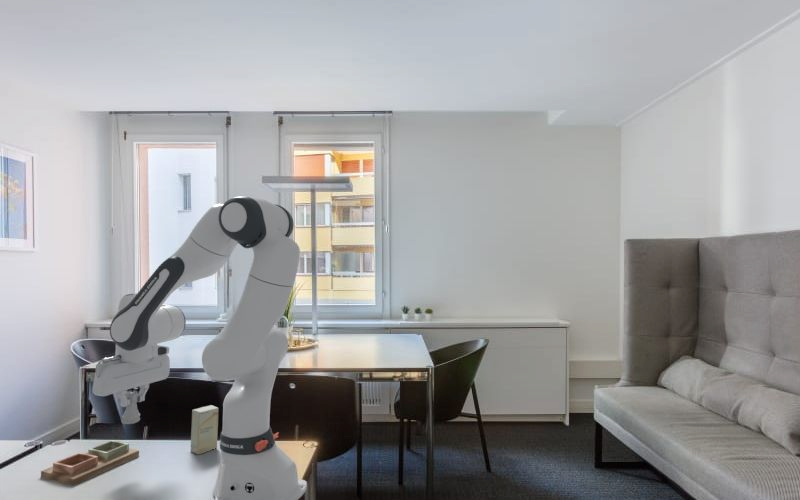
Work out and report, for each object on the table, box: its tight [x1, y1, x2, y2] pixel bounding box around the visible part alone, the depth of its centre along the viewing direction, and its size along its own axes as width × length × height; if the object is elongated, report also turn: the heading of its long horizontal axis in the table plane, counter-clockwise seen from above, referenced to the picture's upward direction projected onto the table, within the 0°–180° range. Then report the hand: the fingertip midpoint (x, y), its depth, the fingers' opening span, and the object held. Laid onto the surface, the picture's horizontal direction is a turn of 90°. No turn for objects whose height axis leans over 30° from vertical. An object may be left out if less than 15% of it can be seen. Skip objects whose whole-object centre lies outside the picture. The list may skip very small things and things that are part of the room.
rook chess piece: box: [120, 389, 141, 425], centre depth 116 cm, size 4×4×8 cm
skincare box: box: [190, 404, 219, 455], centre depth 128 cm, size 6×4×12 cm
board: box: [40, 439, 140, 486], centre depth 117 cm, size 12×18×4 cm, turn 161°
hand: (132, 403), depth 116 cm, fingers closed on rook chess piece, 3 cm apart
